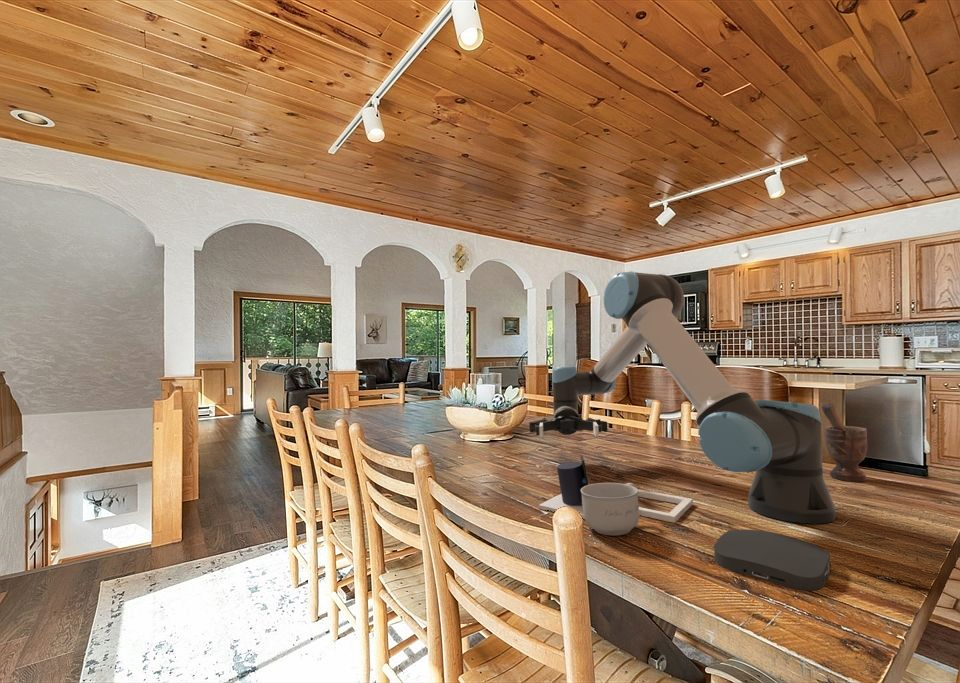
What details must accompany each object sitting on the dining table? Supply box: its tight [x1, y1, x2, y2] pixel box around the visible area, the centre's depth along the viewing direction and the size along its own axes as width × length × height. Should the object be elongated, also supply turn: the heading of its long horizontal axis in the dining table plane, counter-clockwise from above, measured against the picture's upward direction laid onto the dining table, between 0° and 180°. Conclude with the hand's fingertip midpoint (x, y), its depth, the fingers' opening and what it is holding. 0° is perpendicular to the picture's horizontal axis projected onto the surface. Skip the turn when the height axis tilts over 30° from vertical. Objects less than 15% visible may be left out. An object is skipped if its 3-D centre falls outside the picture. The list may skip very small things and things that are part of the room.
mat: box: [538, 493, 585, 520], centre depth 100 cm, size 11×11×1 cm
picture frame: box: [637, 488, 694, 524], centre depth 99 cm, size 14×14×1 cm
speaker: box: [556, 454, 590, 505], centre depth 101 cm, size 8×6×10 cm
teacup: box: [581, 482, 640, 537], centre depth 88 cm, size 14×11×8 cm
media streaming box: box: [713, 529, 832, 592], centre depth 72 cm, size 15×15×3 cm
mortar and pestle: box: [821, 402, 868, 483], centre depth 116 cm, size 12×9×20 cm
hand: (568, 431), depth 111 cm, fingers open, 13 cm apart
